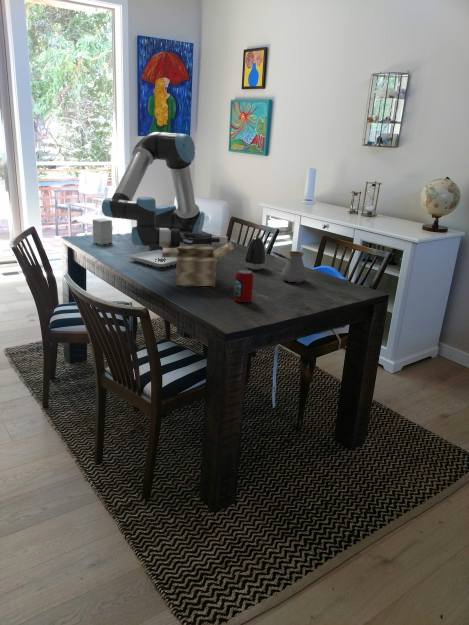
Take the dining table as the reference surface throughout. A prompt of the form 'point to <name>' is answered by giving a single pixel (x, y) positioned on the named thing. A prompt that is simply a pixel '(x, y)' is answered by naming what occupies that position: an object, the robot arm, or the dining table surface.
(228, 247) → the carton flap
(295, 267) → the coffee pot
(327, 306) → the dining table surface
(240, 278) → the beverage can
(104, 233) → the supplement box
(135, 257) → the salad plate
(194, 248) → the carton
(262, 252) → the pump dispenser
